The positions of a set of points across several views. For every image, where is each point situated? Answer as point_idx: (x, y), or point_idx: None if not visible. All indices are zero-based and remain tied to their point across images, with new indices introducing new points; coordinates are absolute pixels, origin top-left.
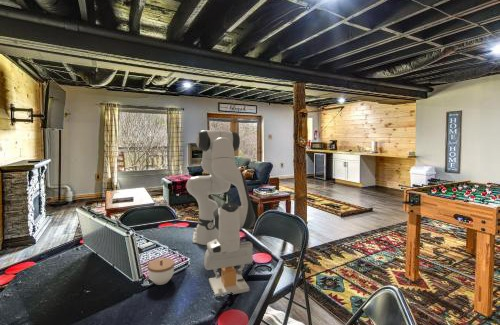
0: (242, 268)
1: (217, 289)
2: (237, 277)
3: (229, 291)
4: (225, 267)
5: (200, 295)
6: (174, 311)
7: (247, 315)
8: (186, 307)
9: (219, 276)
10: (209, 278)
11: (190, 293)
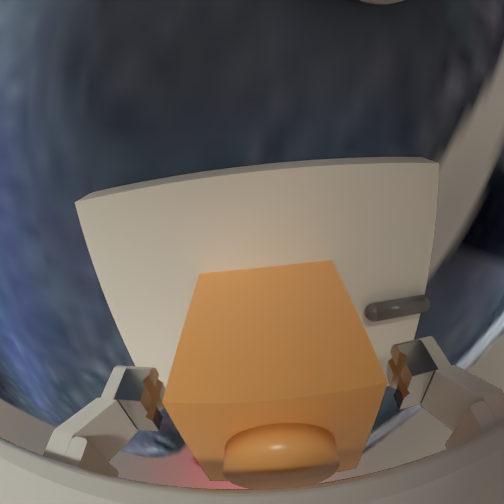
0: (450, 418)
1: (166, 375)
2: (388, 244)
3: None
4: (228, 472)
5: (72, 345)
6: (23, 392)
7: None
8: (49, 393)
9: (160, 408)
10: (80, 204)
11: (19, 311)
